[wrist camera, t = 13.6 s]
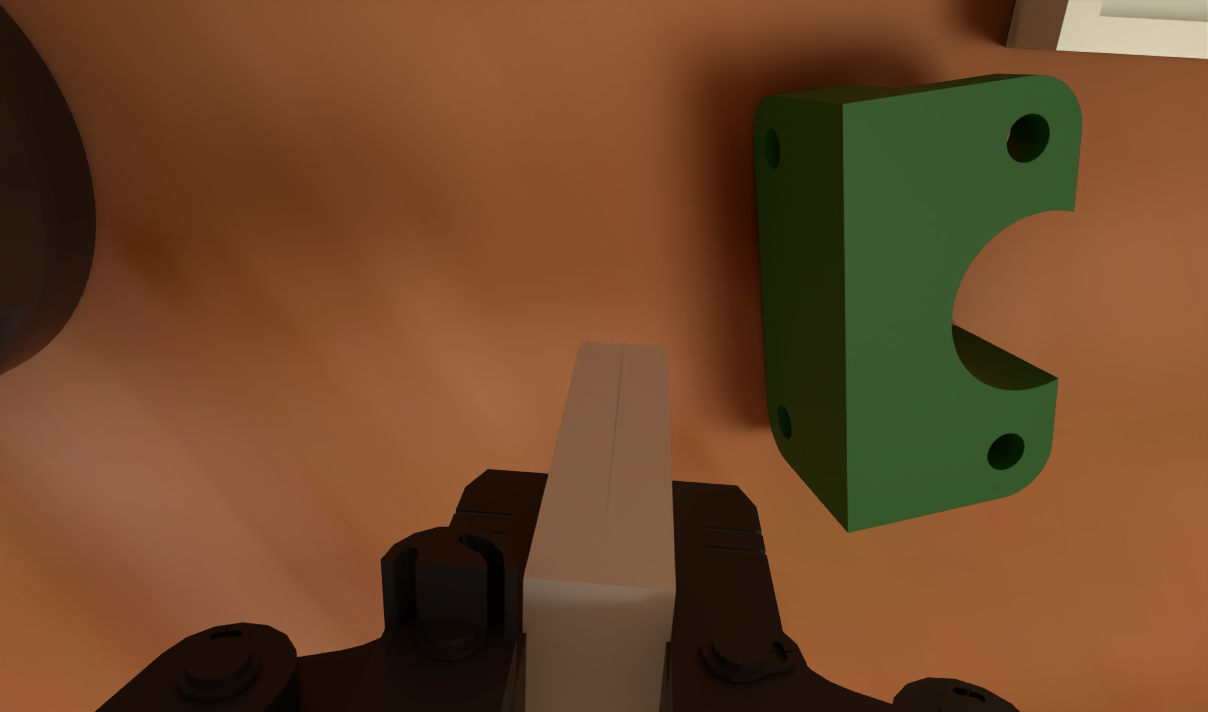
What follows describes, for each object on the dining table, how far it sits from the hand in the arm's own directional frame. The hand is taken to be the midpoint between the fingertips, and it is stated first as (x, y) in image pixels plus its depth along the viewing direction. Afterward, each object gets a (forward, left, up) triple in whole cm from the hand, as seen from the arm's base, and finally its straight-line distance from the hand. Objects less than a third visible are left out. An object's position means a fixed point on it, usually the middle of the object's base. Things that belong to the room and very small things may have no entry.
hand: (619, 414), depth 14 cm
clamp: (+8, 0, -12) cm, 14 cm away
